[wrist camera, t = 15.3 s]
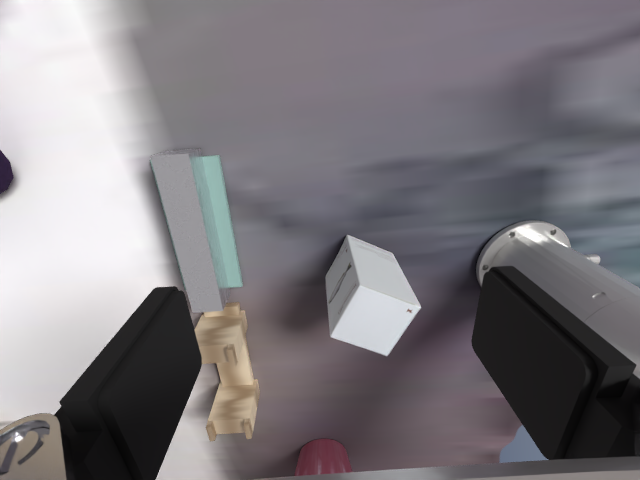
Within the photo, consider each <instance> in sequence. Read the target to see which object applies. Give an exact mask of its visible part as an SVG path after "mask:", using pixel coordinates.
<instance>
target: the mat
mask: <svg viewBox="0 0 640 480" xmlns="http://www.w3.org/2000/svg"><path fill="white" fill-rule="evenodd" d="M202 158H203V162H204V167H205V172H206V177H207V182H208V187H209V192H210V197H211V202H212V206H213V211H214V216H215V221H216V226H217V231H218V236H219V241H220V246H221V250H222V255H223V260H224V265H225V270H226V275H227V280H228V285H229V287H242V285H243V283H242V278H241V272H240V266H239V261H238V255H237V250H236V244H235V239H234V233H233V228H232V222H231V216H230V211H229V205H228V200H227V194H226V189H225V183H224V178H223V172H222V166H221V161H220V155H215V156H202ZM150 163H151V166H152V170H153V174H154V177H155V181H156V185H157V188H158V184H157V180H156V176H155V173H154V169H153V165H152V162H151V160H150ZM158 192H159V196H160V200H161V203H162V207H163V211H164V214H165V218H166V222H167V225H168V229H169V233H170V236H171V240H172V244H173V248H174V251H175V255H176V259H177V262H178V266H179V270H180V273H181V277H182V281H183V285H184V288H185V290H186V287H185V283H184V280H183V276H182V272H181V269H180V265H179V261H178V258H177V254H176V250H175V246H174V243H173V239H172V235H171V232H170V228H169V224H168V221H167V217H166V213H165V210H164V206H163V202H162V199H161V195H160V191H159V188H158Z"/></svg>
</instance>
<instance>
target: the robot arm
mask: <svg viewBox="0 0 640 480" xmlns="http://www.w3.org/2000/svg"><path fill="white" fill-rule="evenodd" d="M599 263H600V257H599V256H598V255H596V254H590V255H582V254H580V253H579V252H577V251H575V250H573V249H572V248H571V245H570V242H569V239H568V238H567V236H566V235H565V233H564V232H563V231H562V230H560V229H559V228H558V227H556V226H554V225H552V224H550V223H547V222H544V221H537V220H532V221H523V222H519V223H516V224H513V225H511V226H508V227H507V228H505V229H503V230H502V231H500V232H499V233H497V234H496V235H495V236H494V237H492V238H491V240H490V241H489V242H488V243H487V244H486V245H485V247H484V248H483V250H482V251H481V253H480V256H479V258H478V261H477V266H476V276H477V280H478V282H479V284H480V286H481V292H480V298H479V303H478V308H477V314H476V319H475V325H474V330H473V335H472V346H473V349H474V351H475V353H476V355H477V356H478V358H479V359H480V361H481V362H482V364H483V365H484V367H485V368H486V370H487V371H488V373H489V374H490V376H491V377H492V379H493V380H494V382H495V383H496V385H497V386H498V388H499V389H500V391H501V392H502V394H503V395H504V397H505V398H506V400H507V401H508V403H509V404H510V406H511V407H512V409H513V411H514V412H515V414H516V415H517V417H518V418H519V420H520V421H521V423H522V424H523V426H524V427H525V428H526V430H527V432H528V433H529V434H530V436H531V438H532V439H533V441H534V442H535V444H536V445H537V447H538V448H539V450H540V451H541V453H542V454H543V455H544V456H545V457H546V458H547V459H549V460H542V461H526V462H510V463H509V462H508V463H492V464H475V465H458V466H442V467H426V468H411V469H395V470H380V471H365V472H350V473H335V474H320V475H305V476H290V477H276V478H263V479H249V480H640V288H639V287H637V286H635V285H633V284H631V283H630V282H628V281H626V280H624V279H623V278H621V277H619V276H617V275H615V274H614V273H612V272H610V271H608V270H607V269H605V268H603V267H601V266H599V265H598V264H599ZM201 365H202V357H201V353H200V349H199V345H198V342H197V338H196V334H195V331H194V327H193V323H192V320H191V316H190V312H189V309H188V305H187V301H186V298H185V294H184V292H183V291H179V290H178V288H177V287H175V286H173V287H157V288H155V289H153V290H152V292H151V293H150V294H149V295H148V296H147V298H146V299H145V300H144V301H143V302H142V304H141V305H140V306H139V307H138V308H137V310H136V311H135V312H134V313H133V314H132V316H131V317H130V318H129V319H128V320H127V322H126V323H125V324H124V325H123V326H122V328H121V329H120V330H119V331H118V332H117V334H116V335H115V336H114V337H113V338H112V339H111V341H110V342H109V343H108V344H107V345H106V347H105V348H104V349H103V350H102V351H101V353H100V354H99V355H98V356H97V357H96V359H95V360H94V361H93V362H92V363H91V365H90V366H89V367H88V368H87V369H86V371H85V372H84V373H83V374H82V375H81V377H80V378H79V379H78V380H77V381H76V383H75V384H74V385H73V386H72V387H71V389H70V390H69V391H68V392H67V393H66V395H65V396H64V397H63V398H62V399H61V401H60V404H61V408H60V409H59V410H58V411H57V412H56V414H55V415H52V414H47V413H40V414H35V415H31V416H27V417H25V418H22V419H20V420H18V421H15V422H13V423H11V424H10V425H8V426H6V427H4V428H3V429H1V430H0V480H155V479H156V477H157V475H158V472H159V470H160V467H161V465H162V462H163V460H164V457H165V455H166V453H167V450H168V448H169V445H170V443H171V440H172V438H173V435H174V433H175V430H176V428H177V426H178V423H179V421H180V418H181V416H182V413H183V411H184V408H185V406H186V404H187V401H188V399H189V396H190V394H191V391H192V389H193V386H194V384H195V381H196V379H197V377H198V374H199V372H200V369H201Z"/></svg>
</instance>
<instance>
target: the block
mask: <svg viewBox="0 0 640 480" xmlns="http://www.w3.org/2000/svg"><path fill="white" fill-rule="evenodd" d="M150 158H151V162H152V165H153V169H154V173H155V176H156V180H157V184H158V188H159V191H160V195H161V199H162V202H163V206H164V210H165V213H166V217H167V221H168V224H169V228H170V232H171V235H172V239H173V243H174V246H175V250H176V254H177V258H178V261H179V265H180V269H181V272H182V276H183V280H184V283H185V287H186V291H187V294H188V298H189V302H190V305H191V309H192V313H197V312H213V311H223V310H224V308H225V305H226V303H227V300H228V298H229V296H230V289H229V285H228V280H227V275H226V270H225V265H224V260H223V255H222V250H221V246H220V241H219V236H218V231H217V226H216V221H215V216H214V211H213V206H212V202H211V197H210V192H209V187H208V182H207V177H206V172H205V167H204V162H203V158H202V153H201V148H198V149H182V150H166V151H163V152H160V153H157V154H154V155H151V156H150Z"/></svg>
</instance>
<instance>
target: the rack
mask: <svg viewBox="0 0 640 480" xmlns="http://www.w3.org/2000/svg"><path fill="white" fill-rule="evenodd" d="M247 327H248V326H247V320H246V315H245V310H244V311H241V310H240V305H239V302H236V303H226V305H225V308H224V310H223V311H213V312H204V313H203V314H202V316H201V318H200V320H199V322H198V324H197V326H196V328H195V330H194V331H195V334H196V338H197V342H198V345H199V349H200V353H201V357H202V364H209V363H217V367H218V371H219V375H220V379H221V382H220V384H219V387H218V390H217V393H216V396H215V400H214V403H213V406H212V409H211V412H210V415H209V418H208V423H207V426H206V430H207V433H208V436H209V440H210V441H215V438H216V435H217V434H229V433H244V432H245V433H246V438H247V439H251V438H252V433H253V429H254V423H255V417H256V411H257V405H258V400H259V394H260V391H259V385H258V380H257V379H255V380H254V378H253V373H252V367H251V362H250V357H249V352H248V347H247V341H246V336H245V335H246V331H247Z"/></svg>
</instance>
